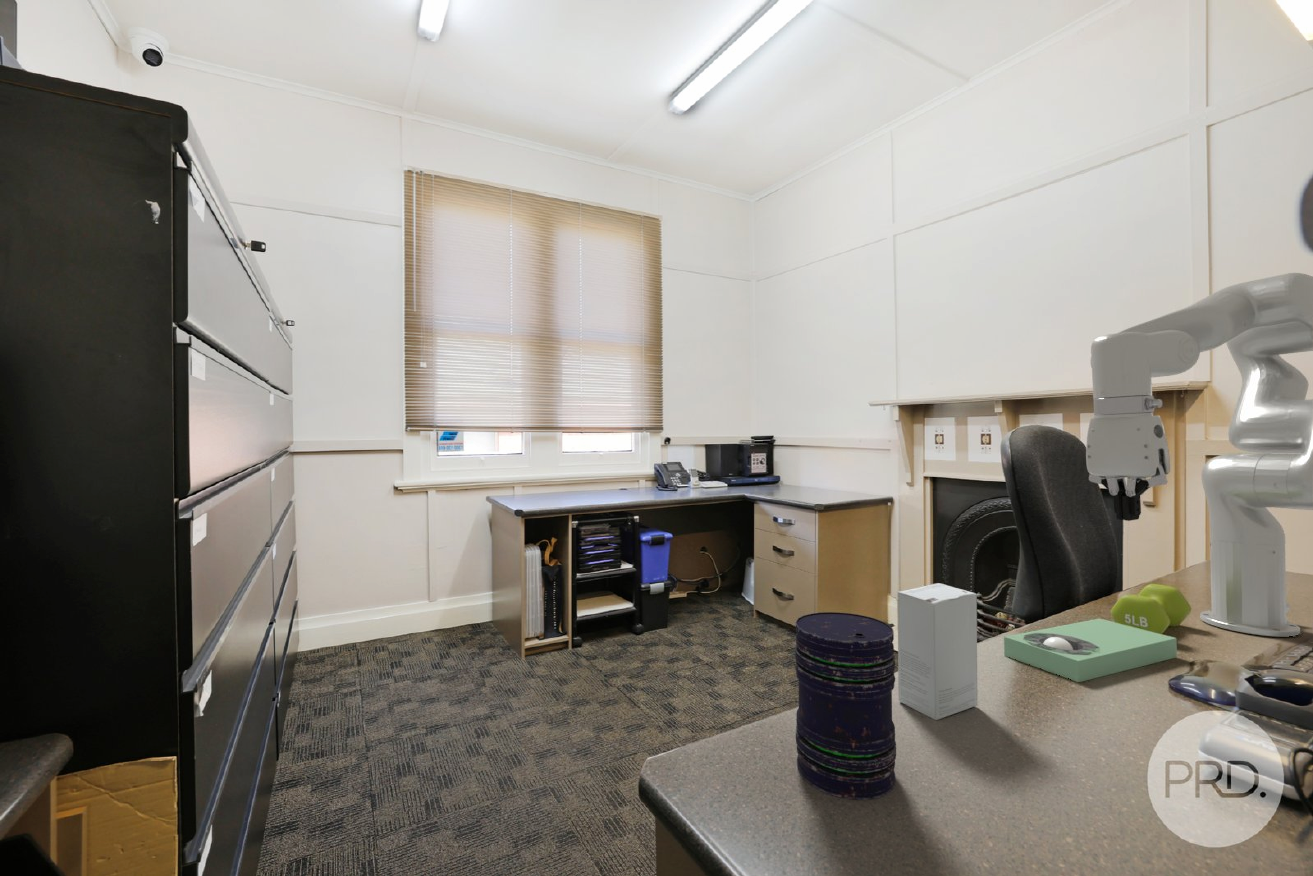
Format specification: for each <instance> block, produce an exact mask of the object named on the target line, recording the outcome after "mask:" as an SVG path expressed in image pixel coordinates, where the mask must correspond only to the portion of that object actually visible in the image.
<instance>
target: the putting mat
mask: <svg viewBox="0 0 1313 876" xmlns="http://www.w3.org/2000/svg"><path fill="white" fill-rule="evenodd" d="M1051 637H1059V638H1062V639H1064V640H1066V641H1067V642H1069V643H1070V644H1071V646H1072V648H1073V650H1064V649H1059V648H1053V647H1050V646H1047V645H1044V644H1043V643H1044V641H1045V640H1046V639H1048V638H1051ZM1003 640H1004V641H1003V645H1004V647H1003V649H1004V652H1003V653H1004V655H1005V656H1004V657H1006V658H1009V657H1010V658H1011V659H1013V660H1015V659H1016V661H1018V662H1021V663H1023V664H1026V665H1029V664H1030V665H1029V666H1032V667H1034V668H1038V669H1040V668H1041V669H1040V670H1043V671H1046V672H1049V673H1051V674H1054V675H1056V674H1057V675H1056V676H1059V675H1060V677H1063V678H1065V679H1068V678H1069V679H1068V680H1070V679H1071V681H1074V682H1076V683H1082V682H1086V681H1089V680H1092V679H1097V678H1098V679H1099V678H1100V677H1105V676H1110V675H1113V674H1117V673H1120V672H1124V671H1129V670H1133V669H1136V668H1140V667H1143V666H1144V667H1145V666H1147V665H1152V664H1157V663H1160V662H1163V661H1168V660H1172V659H1176V658H1177V657H1178V649H1177V648H1178V645H1177V643H1178V642H1177V640H1178V639H1177V637H1174V636H1171V635H1166V634H1163V633H1162V634H1158V633H1154V632H1150V631H1146V630H1143V629H1139V628H1135V627H1131V626H1127V625H1123V624H1119V623H1115V621H1111V620H1107V619H1103V618H1095V619H1090V620H1085V621H1080V622H1079V621H1078V622H1074V623H1068V624H1064V625H1058V626H1054V627H1048V628H1042V629H1038V630H1032V631H1027V632H1022V633H1016V634H1011V635H1007V636H1004V637H1003ZM1010 658H1009V659H1010Z"/></svg>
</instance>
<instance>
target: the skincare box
mask: <svg viewBox="0 0 1313 876" xmlns="http://www.w3.org/2000/svg"><path fill="white" fill-rule="evenodd" d="M977 599H978V594H977V593H975V592H972V591H969V590H965V589H961V588H957V587H954V586H951V585H947V584H944V583H939V582H937V583H931V584H928V585H925V586H920V587H914V588H911V589H905V590H899V591H897V668H898V669H897V671H898V672H897V673H898V676H897V677H898V680H897V681H898V682H897V683H898V685H897V687H898V688H897V689H898V701H899V702H900V703H901V704H904V705H905V706H907V707H909V708H910V709H911V708H912V709H913V710H915V711H916V712H919V713H921V714H922V715H924V716H926V717H929V718H930V719H932V720H934V721H938V720H941V719H943V718H945V717H949V716H951V715H954V714H956V713H960V712H962V711H966V710H969V709H970V708H974V707H976V706H978V705H979V704H978V703H979V702H978V692H979V691H978V617H977V616H978V612H977V611H978V610H977V607H978V605H977V601H978V600H977Z"/></svg>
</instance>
